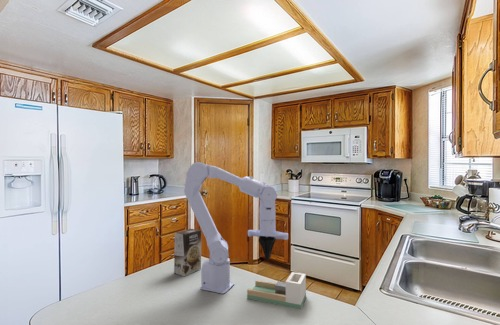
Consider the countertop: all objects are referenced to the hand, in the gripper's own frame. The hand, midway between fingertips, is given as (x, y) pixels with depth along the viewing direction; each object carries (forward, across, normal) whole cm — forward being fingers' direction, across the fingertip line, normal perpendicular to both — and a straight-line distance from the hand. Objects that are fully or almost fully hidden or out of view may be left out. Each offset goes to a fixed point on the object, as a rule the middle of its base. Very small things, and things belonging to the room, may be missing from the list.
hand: (267, 258), depth 92 cm
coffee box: (+10, +34, 0) cm, 35 cm away
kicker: (+8, -8, +7) cm, 13 cm away
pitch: (+9, -6, +8) cm, 13 cm away
